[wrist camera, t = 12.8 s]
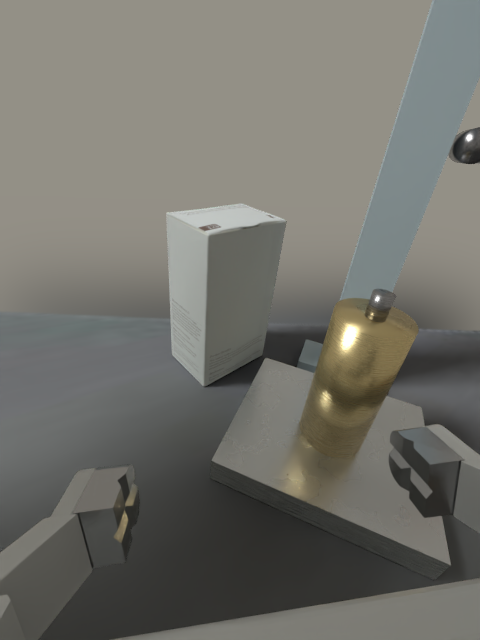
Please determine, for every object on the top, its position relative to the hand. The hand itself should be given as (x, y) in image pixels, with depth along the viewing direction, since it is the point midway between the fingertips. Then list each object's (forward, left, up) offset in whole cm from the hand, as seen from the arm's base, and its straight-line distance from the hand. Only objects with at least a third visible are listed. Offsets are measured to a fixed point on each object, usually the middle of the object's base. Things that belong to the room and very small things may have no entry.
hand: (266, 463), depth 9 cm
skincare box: (-9, +17, -12) cm, 22 cm away
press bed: (+3, +11, -11) cm, 16 cm away
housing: (+3, +11, -9) cm, 15 cm away
